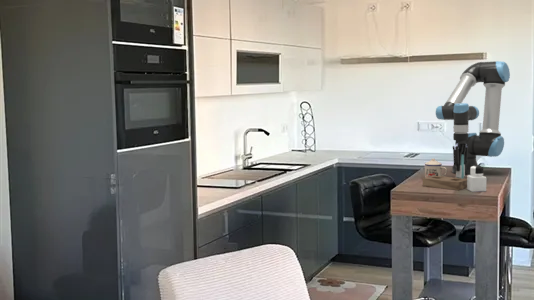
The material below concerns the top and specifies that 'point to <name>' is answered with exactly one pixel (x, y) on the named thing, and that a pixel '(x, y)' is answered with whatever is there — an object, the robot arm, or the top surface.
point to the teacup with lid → (433, 168)
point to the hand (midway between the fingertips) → (460, 176)
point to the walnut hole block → (445, 182)
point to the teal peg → (462, 166)
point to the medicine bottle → (476, 179)
